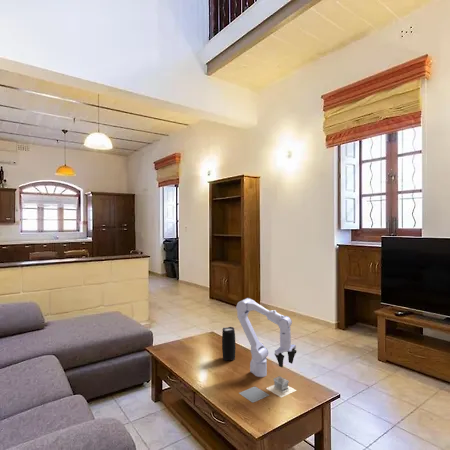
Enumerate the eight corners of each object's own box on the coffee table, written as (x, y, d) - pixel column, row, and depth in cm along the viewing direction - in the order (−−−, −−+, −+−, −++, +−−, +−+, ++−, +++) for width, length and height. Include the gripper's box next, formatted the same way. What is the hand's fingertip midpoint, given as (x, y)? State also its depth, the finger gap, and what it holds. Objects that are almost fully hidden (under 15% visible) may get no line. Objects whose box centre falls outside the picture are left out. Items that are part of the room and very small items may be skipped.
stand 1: (238, 396, 159) (238, 393, 159) (255, 389, 165) (255, 386, 165) (252, 405, 150) (252, 402, 150) (269, 398, 156) (269, 395, 156)
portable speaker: (232, 355, 209) (232, 325, 209) (237, 360, 200) (237, 330, 200) (220, 357, 206) (220, 327, 206) (224, 362, 197) (224, 331, 197)
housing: (273, 388, 163) (273, 378, 163) (279, 385, 165) (279, 376, 165) (282, 393, 158) (282, 383, 158) (288, 390, 160) (288, 380, 160)
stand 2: (265, 391, 163) (265, 388, 163) (280, 384, 169) (280, 381, 169) (281, 400, 154) (281, 397, 154) (296, 393, 160) (296, 390, 160)
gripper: (281, 345, 163) (281, 371, 163) (300, 338, 172) (300, 363, 172) (271, 341, 169) (272, 366, 169) (290, 335, 178) (290, 359, 178)
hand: (285, 364), depth 171 cm, fingers open, 7 cm apart
